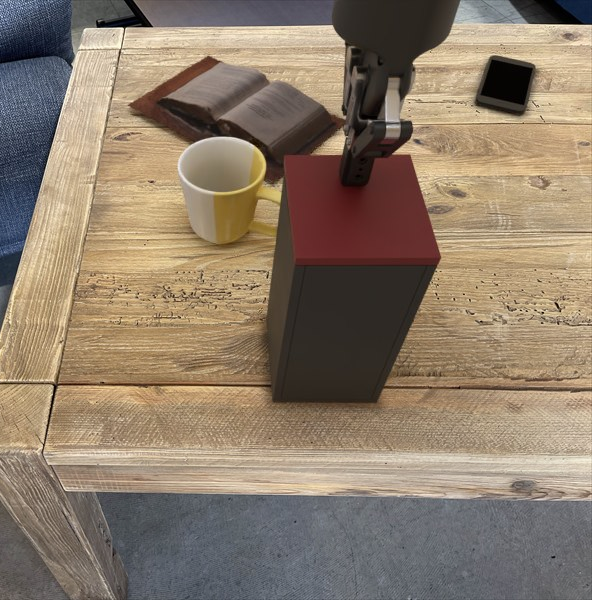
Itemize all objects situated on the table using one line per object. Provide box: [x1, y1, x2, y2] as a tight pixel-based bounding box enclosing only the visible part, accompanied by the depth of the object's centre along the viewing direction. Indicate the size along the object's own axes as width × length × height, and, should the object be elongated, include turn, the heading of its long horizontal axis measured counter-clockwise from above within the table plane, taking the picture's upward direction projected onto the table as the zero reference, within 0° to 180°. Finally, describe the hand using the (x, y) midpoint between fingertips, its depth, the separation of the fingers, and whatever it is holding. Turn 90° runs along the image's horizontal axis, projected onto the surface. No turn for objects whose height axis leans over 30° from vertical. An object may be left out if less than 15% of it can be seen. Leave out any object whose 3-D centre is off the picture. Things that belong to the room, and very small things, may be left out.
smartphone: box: [474, 54, 537, 115], centre depth 95 cm, size 7×15×1 cm, turn 154°
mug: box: [176, 137, 282, 245], centre depth 72 cm, size 14×10×10 cm
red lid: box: [284, 153, 442, 266], centre depth 48 cm, size 12×11×1 cm
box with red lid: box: [265, 173, 438, 404], centre depth 56 cm, size 11×11×21 cm
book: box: [127, 55, 346, 184], centre depth 91 cm, size 20×28×4 cm
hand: (352, 179), depth 49 cm, fingers closed
